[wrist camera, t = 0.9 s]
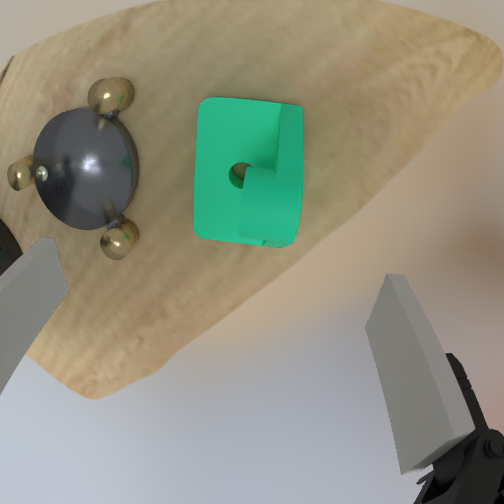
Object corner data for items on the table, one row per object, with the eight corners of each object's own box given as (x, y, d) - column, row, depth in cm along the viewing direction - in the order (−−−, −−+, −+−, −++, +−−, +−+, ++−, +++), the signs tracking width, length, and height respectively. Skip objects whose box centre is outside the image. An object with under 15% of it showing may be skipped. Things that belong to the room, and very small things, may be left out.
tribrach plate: (36, 234, 30) (22, 246, 27) (19, 97, 21) (1, 101, 19) (144, 246, 30) (133, 262, 27) (139, 76, 21) (124, 76, 19)
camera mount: (206, 95, 22) (165, 100, 13) (299, 105, 22) (317, 114, 13) (199, 224, 28) (167, 291, 20) (279, 234, 28) (281, 306, 20)
